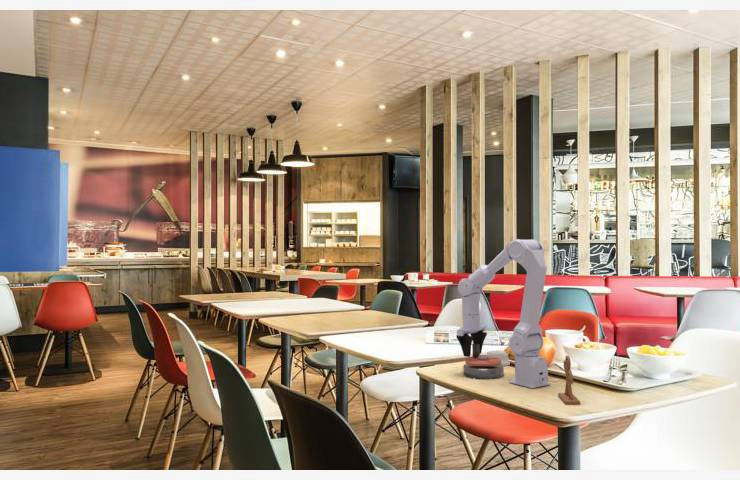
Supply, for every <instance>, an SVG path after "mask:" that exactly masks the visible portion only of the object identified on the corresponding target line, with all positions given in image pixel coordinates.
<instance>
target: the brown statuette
mask: <svg viewBox="0 0 740 480" xmlns="http://www.w3.org/2000/svg"><path fill="white" fill-rule="evenodd" d="M571 365H572V361H571V357H570V356H569V355H566V356H565V359H564V360H563V369H564V370H563V371H564V373H565V381H566V382H565V390H564V392H558V395H557V397H558V398H559V399H560V400H561V401H562V403H563V404H564V405H565V406H580V405H581V401H580V400H579V399H578V398H577V397H576V396H575V394H574V393H573V390H572V385H573V384H574V377H573V372H572V369H571Z"/></svg>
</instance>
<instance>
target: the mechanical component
mask: <svg viewBox="0 0 740 480" xmlns="http://www.w3.org/2000/svg"><path fill="white" fill-rule="evenodd" d="M506 352H507V351H504V350H490V351H486V355H487V356H488V357H495V358H499V359H501V365H503V366H504V367H507V366H510V362H508V359H509V352H508V353H506Z"/></svg>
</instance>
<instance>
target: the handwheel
mask: <svg viewBox="0 0 740 480" xmlns="http://www.w3.org/2000/svg"><path fill="white" fill-rule="evenodd" d="M471 352H472V356H470V357H466V358H465V360H464V361H465V363H464V364H469V365H474V366H496V365H500V364H501V359H499V358H495V357H488V356H487V354H486V355H485V354H484V355H483V354H482V355H481V354H480V344H473V343H472V344H471Z"/></svg>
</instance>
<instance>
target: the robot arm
mask: <svg viewBox="0 0 740 480" xmlns="http://www.w3.org/2000/svg"><path fill="white" fill-rule="evenodd" d="M544 252H545V247H544V246H543V245H542V243H541V242H540V241H538V240H537V239H535V238H533V239H532V238H531V239H519V238H514V239H512V240H511V241H510V242H509V243H508V244H506V245H505V246H504V249H502V251H501V252H500V253H498V254H497V255H496V256H495V258H494V259H493V260H491V261H490V262H489V263H488V264H481V265H478V266H477V269H476V270H475V271H474V272H473V273H470V274H469V275H468V277H467V278H461V279H460V280H459V282H458V284H457V291H458V293H459V294H460V295H461V305H462V306H461V308H462V309H461V310H462V326H460V327H459V328H458V329H456V335H455V336H456V339H457V341H458V343H459V345H460V347H461V350H462V354H463V357H466V358H469V357H471V355H472V354H471V352H472V344H480V355H481V354H482V349H483V346H484V342H485V339H486V338H487V335H488V332H486V331H487V329H486V328H487V326H486V325H484V324H481V315H480V313H481V312H480V311H481V310H480V299H481V295H482V293H483V289H484V288H485V287H486V286H487V285H488V284H489V283H491V282H492V281H493V280H494V279H495V278H496V273H497V272H498V271H499V270H501V269H502V268H504V267H505V266H507V265H508V264H509V263H511V262H512V261H515V262H516V263H518V264H519V265H521V266H522V268H523V269H524V270H525V271H526V277H525V283H524V290H523V291H524V292H523V296H522V297H523V298H522V305H521V309H520V310H521V311H520V318H519V322H518V323H516V326H515V327H514V328H513V332H512V335H511V336H510V338H509V343H508V344H509V348H510V350H511V351H512V352H513V355H514V376H515V377H514V379H512V380H509V381H508V382H509V383H511V384H513V385H517V386H521V387H526V388H531V389H535V388H540V387H546V386H550V385H551V383H550V382H549V365H548V362H547V359H546V358H545V357H542V356H540V352H541V351H540V350H542V349H543V346H544V338H543V328H541V326H540V325H539V321H540V315H541V309H542V301H543V295H544V289H545V288H544V287H545V284H546V283H545V281H546V276H547V267H548V266H547V262H546V259H545V255H544Z"/></svg>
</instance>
